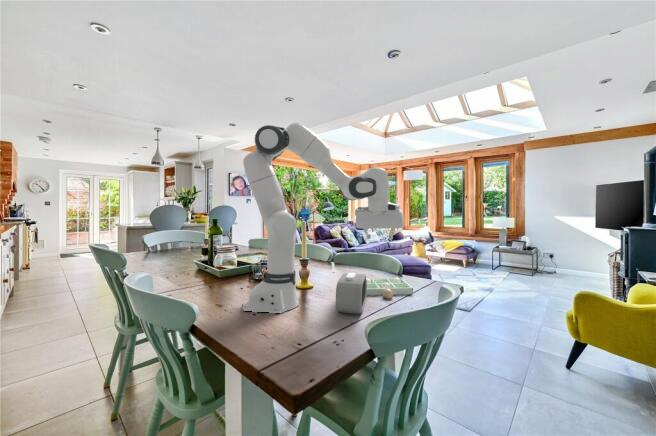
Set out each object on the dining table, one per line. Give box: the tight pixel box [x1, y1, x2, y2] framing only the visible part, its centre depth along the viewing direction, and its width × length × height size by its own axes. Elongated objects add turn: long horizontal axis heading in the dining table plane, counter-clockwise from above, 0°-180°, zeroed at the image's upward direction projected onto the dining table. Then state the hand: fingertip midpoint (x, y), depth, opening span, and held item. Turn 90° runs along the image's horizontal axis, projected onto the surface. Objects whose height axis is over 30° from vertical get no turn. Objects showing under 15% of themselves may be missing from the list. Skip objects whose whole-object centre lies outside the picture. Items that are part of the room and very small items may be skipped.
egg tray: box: [366, 278, 414, 296], centre depth 132 cm, size 23×16×4 cm
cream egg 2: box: [392, 277, 401, 283], centre depth 136 cm, size 4×4×4 cm
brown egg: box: [382, 289, 394, 300], centre depth 121 cm, size 4×4×4 cm
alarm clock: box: [335, 272, 368, 315], centre depth 111 cm, size 21×10×13 cm, turn 166°
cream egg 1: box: [381, 282, 391, 288], centre depth 128 cm, size 4×4×4 cm
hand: (379, 238), depth 117 cm, fingers open, 8 cm apart
